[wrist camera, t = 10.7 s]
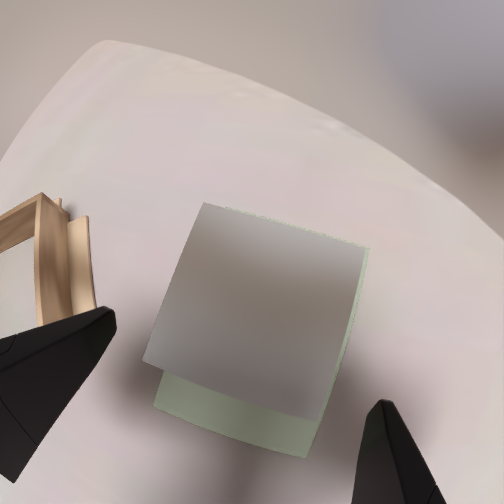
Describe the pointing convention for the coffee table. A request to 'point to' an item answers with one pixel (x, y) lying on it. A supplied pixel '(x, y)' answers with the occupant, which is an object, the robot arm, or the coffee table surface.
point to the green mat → (247, 404)
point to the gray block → (257, 311)
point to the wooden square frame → (53, 256)
